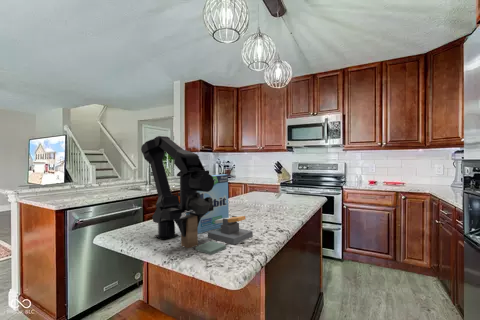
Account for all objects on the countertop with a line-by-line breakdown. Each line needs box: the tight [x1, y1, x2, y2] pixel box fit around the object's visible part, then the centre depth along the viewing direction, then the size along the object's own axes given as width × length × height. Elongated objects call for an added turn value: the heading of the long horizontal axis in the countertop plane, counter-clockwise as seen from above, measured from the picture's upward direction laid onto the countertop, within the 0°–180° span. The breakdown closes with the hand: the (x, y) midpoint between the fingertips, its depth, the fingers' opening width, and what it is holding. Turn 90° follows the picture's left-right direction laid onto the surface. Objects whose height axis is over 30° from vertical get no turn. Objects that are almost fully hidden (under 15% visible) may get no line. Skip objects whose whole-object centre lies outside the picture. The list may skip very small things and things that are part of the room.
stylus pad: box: [195, 240, 227, 256], centre depth 78 cm, size 7×7×1 cm
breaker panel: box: [207, 215, 254, 245], centre depth 90 cm, size 13×11×7 cm
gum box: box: [185, 173, 230, 234], centre depth 101 cm, size 20×5×23 cm, turn 134°
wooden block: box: [180, 214, 199, 249], centre depth 82 cm, size 4×4×10 cm
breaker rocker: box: [215, 215, 246, 224], centre depth 90 cm, size 12×4×1 cm, turn 51°
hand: (189, 235), depth 82 cm, fingers closed on wooden block, 4 cm apart
